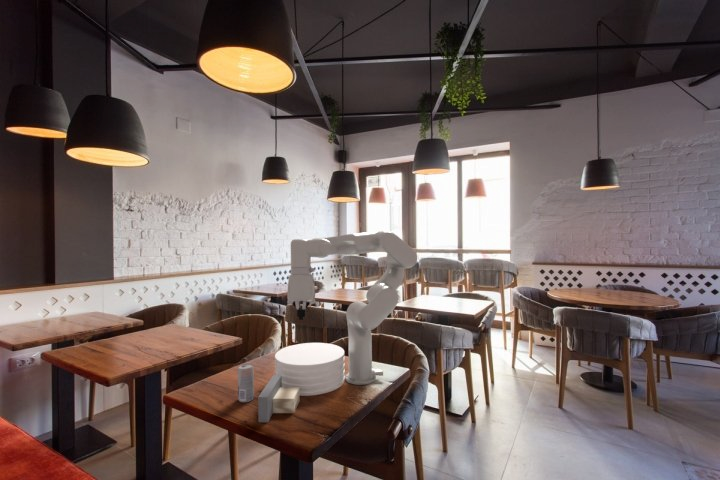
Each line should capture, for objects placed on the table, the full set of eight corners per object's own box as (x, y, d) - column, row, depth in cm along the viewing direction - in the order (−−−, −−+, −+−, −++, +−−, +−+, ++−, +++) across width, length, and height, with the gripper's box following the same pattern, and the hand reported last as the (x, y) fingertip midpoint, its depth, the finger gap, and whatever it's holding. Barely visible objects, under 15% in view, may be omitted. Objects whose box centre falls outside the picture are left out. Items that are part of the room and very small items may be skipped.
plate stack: (356, 374, 150) (356, 347, 150) (320, 402, 125) (319, 369, 125) (303, 364, 163) (302, 339, 163) (260, 387, 138) (259, 358, 138)
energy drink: (248, 394, 132) (248, 362, 132) (256, 398, 128) (256, 365, 128) (235, 399, 127) (234, 366, 127) (243, 404, 124) (243, 370, 124)
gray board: (281, 396, 130) (281, 375, 130) (267, 422, 112) (267, 397, 112) (273, 396, 130) (273, 375, 130) (258, 422, 112) (258, 397, 112)
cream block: (299, 401, 126) (299, 387, 126) (293, 413, 117) (293, 398, 117) (280, 401, 127) (280, 387, 127) (273, 413, 118) (272, 398, 118)
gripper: (321, 270, 139) (322, 316, 139) (283, 270, 139) (284, 317, 139) (319, 272, 131) (319, 321, 131) (279, 272, 132) (279, 321, 132)
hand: (301, 319), depth 135 cm, fingers closed
